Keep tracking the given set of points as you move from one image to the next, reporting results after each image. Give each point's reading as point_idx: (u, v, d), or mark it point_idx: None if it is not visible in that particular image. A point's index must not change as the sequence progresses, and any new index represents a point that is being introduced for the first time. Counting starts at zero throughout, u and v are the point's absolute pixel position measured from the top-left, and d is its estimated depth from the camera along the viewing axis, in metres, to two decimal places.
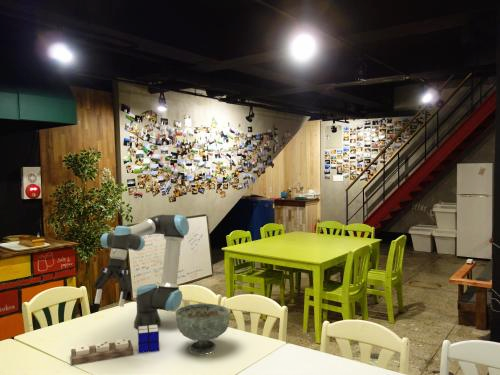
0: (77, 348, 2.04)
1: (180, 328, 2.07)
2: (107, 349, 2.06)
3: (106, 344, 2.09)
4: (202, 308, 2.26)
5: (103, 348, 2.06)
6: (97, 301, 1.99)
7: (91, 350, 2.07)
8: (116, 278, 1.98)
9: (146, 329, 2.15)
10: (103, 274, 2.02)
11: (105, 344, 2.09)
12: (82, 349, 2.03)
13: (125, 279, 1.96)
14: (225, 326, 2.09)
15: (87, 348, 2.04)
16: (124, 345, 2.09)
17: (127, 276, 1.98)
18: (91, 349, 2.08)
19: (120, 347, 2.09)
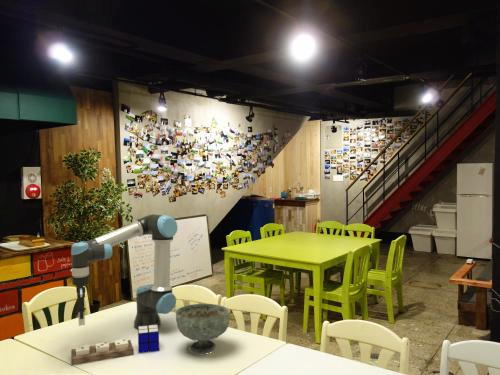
0: (77, 348, 2.04)
1: (180, 328, 2.07)
2: (107, 349, 2.06)
3: (106, 344, 2.09)
4: (202, 308, 2.26)
5: (103, 348, 2.06)
6: None
7: (91, 350, 2.07)
8: (77, 296, 2.02)
9: (146, 329, 2.15)
10: None
11: (105, 344, 2.09)
12: (82, 349, 2.03)
13: (78, 301, 1.99)
14: (225, 326, 2.09)
15: (87, 348, 2.04)
16: (124, 345, 2.09)
17: (81, 299, 1.99)
18: (91, 349, 2.08)
19: (120, 347, 2.09)
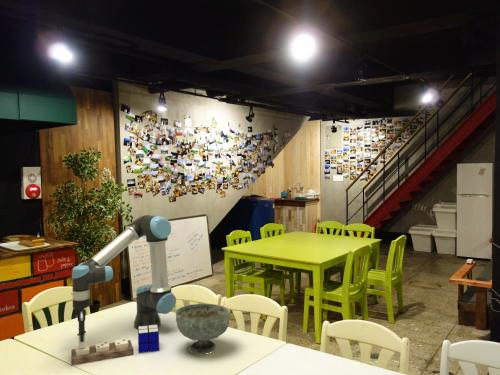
0: (77, 348, 2.04)
1: (180, 328, 2.07)
2: (107, 349, 2.06)
3: (106, 344, 2.09)
4: (202, 308, 2.26)
5: (103, 348, 2.06)
6: None
7: (91, 350, 2.07)
8: None
9: (146, 329, 2.15)
10: None
11: (105, 344, 2.09)
12: (82, 349, 2.03)
13: (79, 325, 2.00)
14: (225, 326, 2.09)
15: (87, 348, 2.04)
16: (124, 345, 2.09)
17: (81, 322, 1.99)
18: (91, 349, 2.08)
19: (120, 347, 2.09)
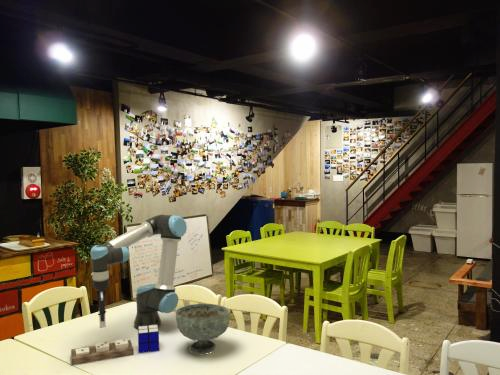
0: (77, 350, 2.04)
1: (180, 328, 2.07)
2: (107, 349, 2.06)
3: (106, 344, 2.09)
4: (202, 308, 2.26)
5: (103, 348, 2.06)
6: None
7: (91, 350, 2.07)
8: None
9: (146, 329, 2.15)
10: None
11: (105, 344, 2.09)
12: (82, 351, 2.03)
13: (99, 304, 2.03)
14: (225, 326, 2.09)
15: (87, 350, 2.04)
16: (124, 345, 2.09)
17: (102, 302, 2.03)
18: (91, 349, 2.08)
19: (120, 347, 2.09)
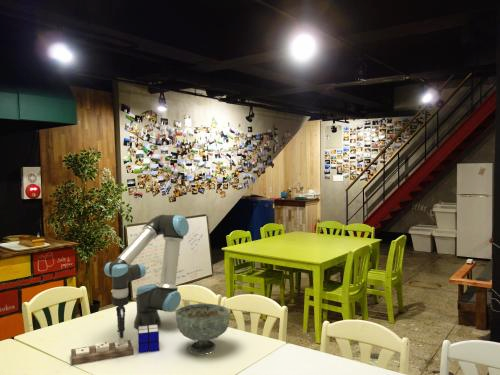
0: (77, 350, 2.04)
1: (180, 328, 2.07)
2: (107, 349, 2.06)
3: (106, 344, 2.09)
4: (202, 308, 2.26)
5: (103, 348, 2.06)
6: None
7: (91, 350, 2.07)
8: (117, 316, 2.10)
9: (146, 329, 2.15)
10: None
11: (105, 344, 2.09)
12: (82, 351, 2.03)
13: (119, 321, 2.07)
14: (225, 326, 2.09)
15: (87, 350, 2.04)
16: (124, 347, 2.09)
17: (122, 319, 2.06)
18: (91, 349, 2.08)
19: None
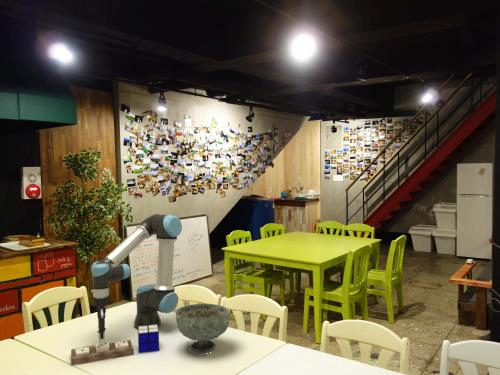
0: (77, 350, 2.04)
1: (180, 328, 2.07)
2: (107, 349, 2.06)
3: (106, 344, 2.09)
4: (202, 308, 2.26)
5: (103, 348, 2.06)
6: None
7: (91, 350, 2.07)
8: None
9: (146, 329, 2.15)
10: None
11: (105, 344, 2.09)
12: (82, 351, 2.03)
13: (99, 322, 2.03)
14: (225, 326, 2.09)
15: (87, 350, 2.04)
16: (124, 347, 2.09)
17: (102, 320, 2.03)
18: (91, 349, 2.08)
19: None
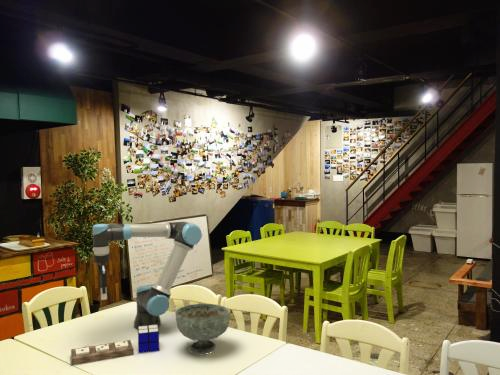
0: (77, 350, 2.04)
1: (180, 328, 2.07)
2: None
3: (106, 346, 2.09)
4: (202, 308, 2.26)
5: (103, 350, 2.06)
6: None
7: (91, 350, 2.07)
8: (99, 273, 2.19)
9: (146, 329, 2.15)
10: None
11: (105, 346, 2.09)
12: (82, 351, 2.03)
13: (101, 277, 2.16)
14: (225, 326, 2.09)
15: (87, 350, 2.04)
16: (124, 347, 2.09)
17: (104, 275, 2.16)
18: (91, 349, 2.08)
19: None
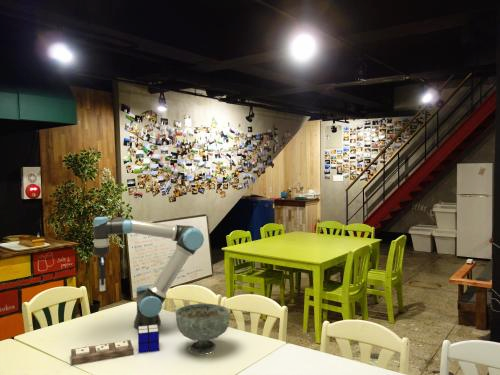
0: (77, 350, 2.04)
1: (180, 328, 2.07)
2: None
3: (106, 346, 2.09)
4: (202, 308, 2.26)
5: (103, 350, 2.06)
6: None
7: (91, 350, 2.07)
8: (98, 264, 2.25)
9: (146, 329, 2.15)
10: None
11: (105, 346, 2.09)
12: (82, 351, 2.03)
13: (100, 269, 2.22)
14: (225, 326, 2.09)
15: (87, 350, 2.04)
16: (124, 347, 2.09)
17: (102, 267, 2.21)
18: (91, 349, 2.08)
19: None
